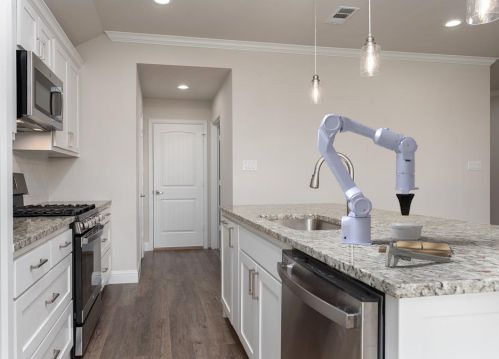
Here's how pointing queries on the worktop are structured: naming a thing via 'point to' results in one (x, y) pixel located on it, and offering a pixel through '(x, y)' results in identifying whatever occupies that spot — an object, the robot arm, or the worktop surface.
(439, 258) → the caliper
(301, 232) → the worktop surface
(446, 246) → the right plank
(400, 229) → the ramekin
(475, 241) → the worktop surface
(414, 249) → the floor panel
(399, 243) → the left plank
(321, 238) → the worktop surface
